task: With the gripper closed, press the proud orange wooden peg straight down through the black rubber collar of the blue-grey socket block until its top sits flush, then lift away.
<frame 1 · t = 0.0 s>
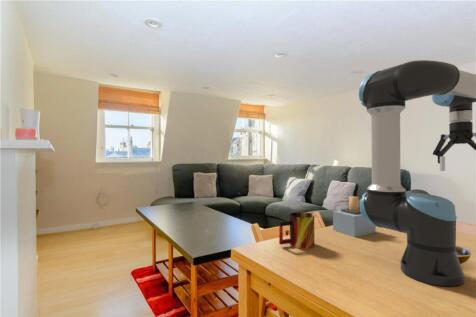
hand: (460, 171, 111), 28 cm above the table, fingers open, 13 cm apart
peg: (353, 207, 122), point 11 cm above the table, slide at 6.0 cm
mug: (299, 246, 103), on the table
socket block: (354, 231, 122), on the table
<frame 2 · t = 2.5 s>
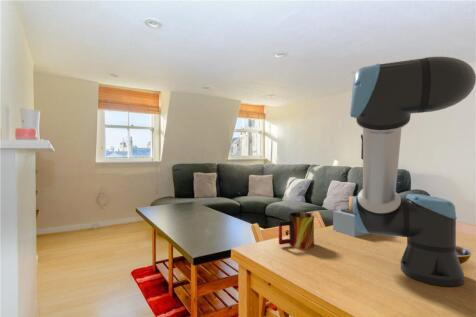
hand: (375, 177, 104), 27 cm above the table, fingers open, 6 cm apart
nothing on the table moved.
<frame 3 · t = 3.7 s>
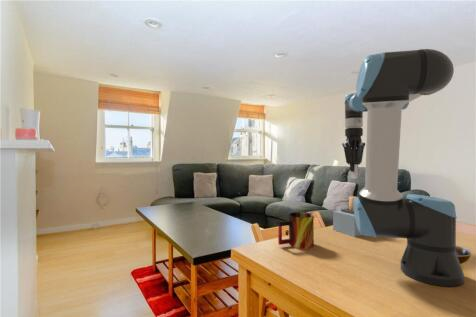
hand: (354, 178, 121), 25 cm above the table, fingers closed
nothing on the table moved.
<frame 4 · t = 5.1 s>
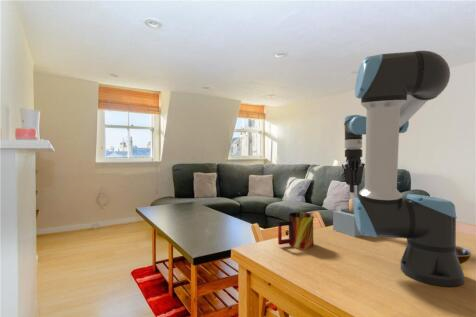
hand: (353, 199, 122), 15 cm above the table, fingers closed
peg: (353, 210, 122), point 10 cm above the table, slide at 4.7 cm, touching gripper
everything else where it was.
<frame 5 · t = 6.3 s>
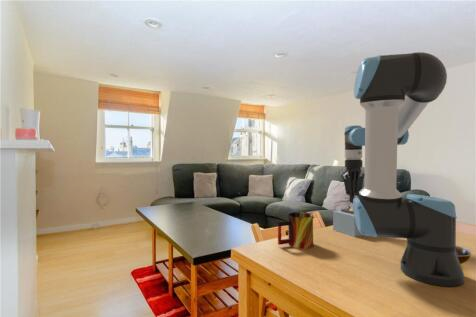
hand: (353, 209, 122), 10 cm above the table, fingers closed
peg: (353, 220, 122), point 5 cm above the table, slide at 0.0 cm, touching gripper
everything else where it was.
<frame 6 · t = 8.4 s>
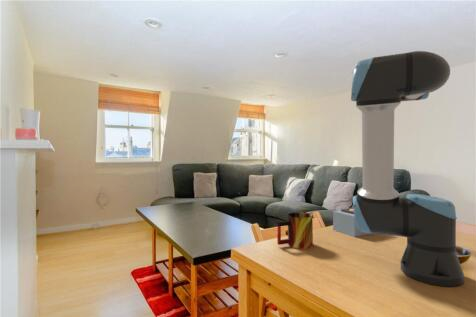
hand: (375, 171, 120), 28 cm above the table, fingers closed
peg: (353, 220, 122), point 5 cm above the table, slide at 0.0 cm
everything else where it was.
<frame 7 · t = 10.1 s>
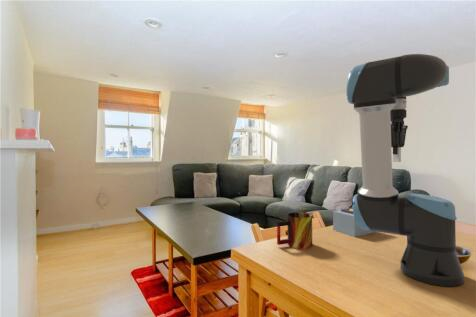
hand: (396, 161, 118), 32 cm above the table, fingers closed
nothing on the table moved.
at the end: peg slide at 0.0 cm; the gripper is holding nothing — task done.
